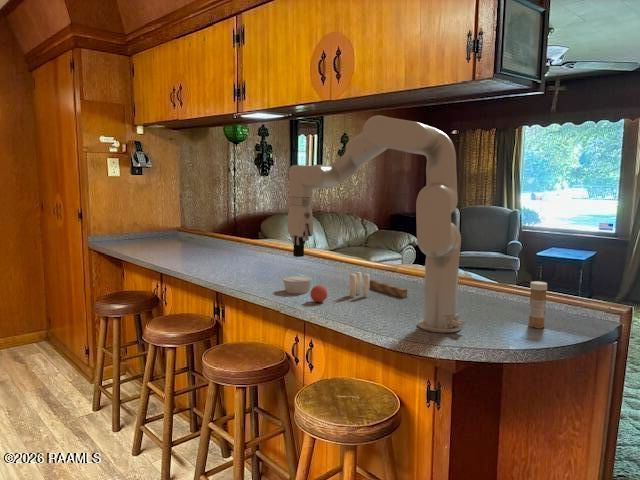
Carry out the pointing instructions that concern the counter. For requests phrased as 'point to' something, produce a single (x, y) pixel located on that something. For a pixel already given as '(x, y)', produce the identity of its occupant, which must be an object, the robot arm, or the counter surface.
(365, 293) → the near pin
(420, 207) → the robot arm
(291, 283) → the ramekin
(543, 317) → the sprinkles bottle
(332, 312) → the counter surface
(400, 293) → the walnut rail
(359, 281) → the far pin
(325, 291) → the ball
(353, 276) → the front pin
